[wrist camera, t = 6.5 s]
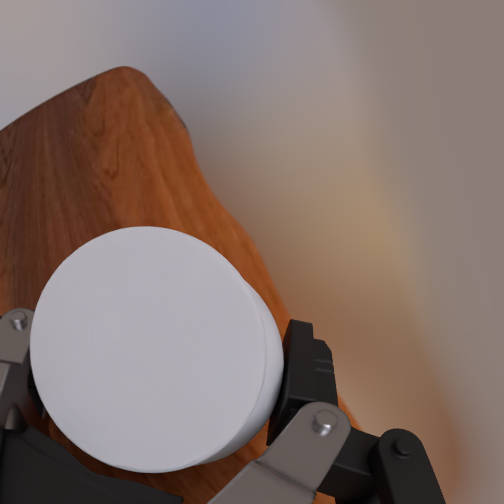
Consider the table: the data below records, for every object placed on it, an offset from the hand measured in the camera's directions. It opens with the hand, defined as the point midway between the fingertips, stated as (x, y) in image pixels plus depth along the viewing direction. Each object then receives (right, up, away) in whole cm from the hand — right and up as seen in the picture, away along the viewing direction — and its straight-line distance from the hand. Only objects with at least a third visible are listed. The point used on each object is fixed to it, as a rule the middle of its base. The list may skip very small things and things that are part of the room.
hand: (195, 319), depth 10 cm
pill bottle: (-1, -4, +5) cm, 6 cm away
